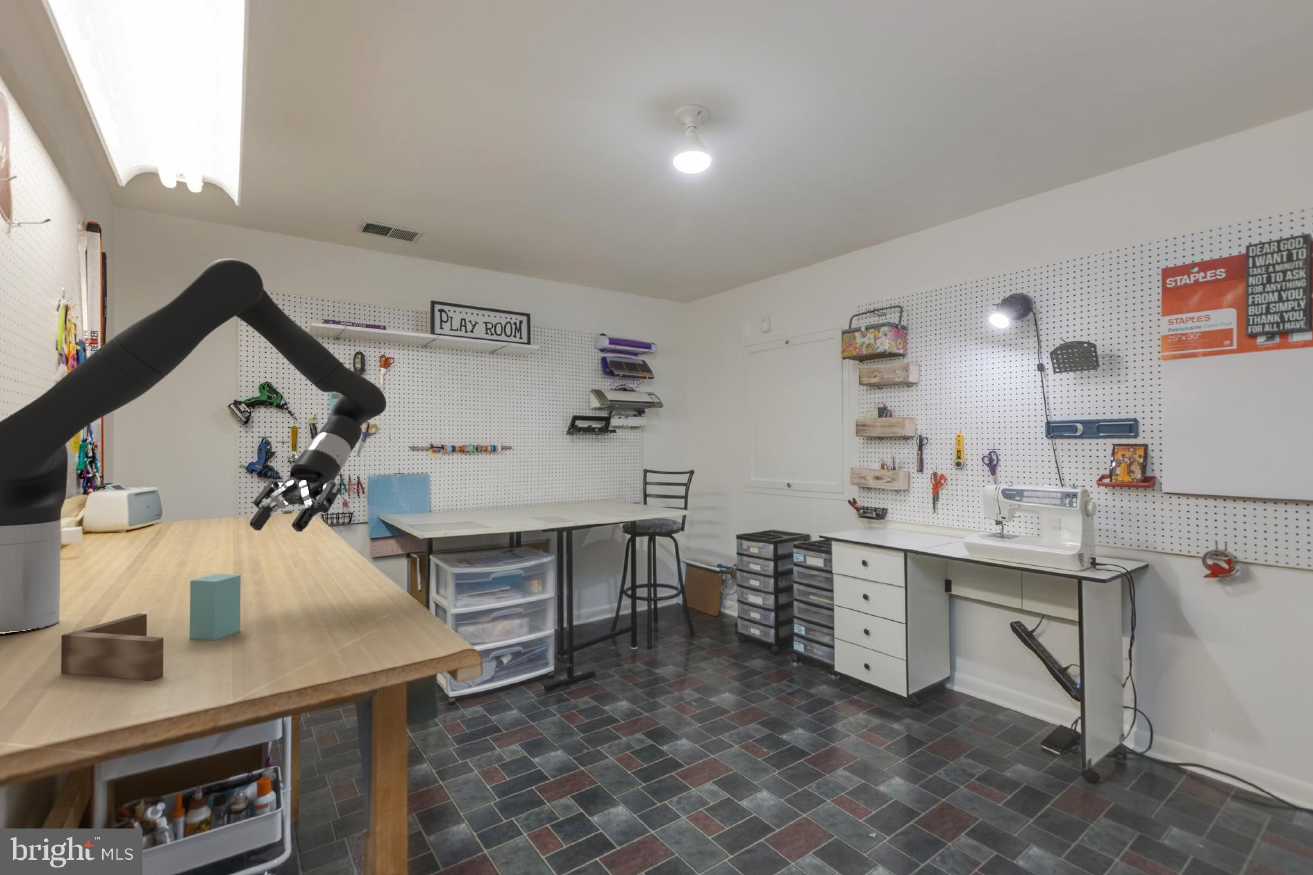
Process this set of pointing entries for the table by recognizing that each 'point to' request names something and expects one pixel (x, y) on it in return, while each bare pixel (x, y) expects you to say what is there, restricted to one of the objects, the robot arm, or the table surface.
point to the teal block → (214, 606)
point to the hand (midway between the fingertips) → (275, 528)
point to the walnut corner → (114, 650)
